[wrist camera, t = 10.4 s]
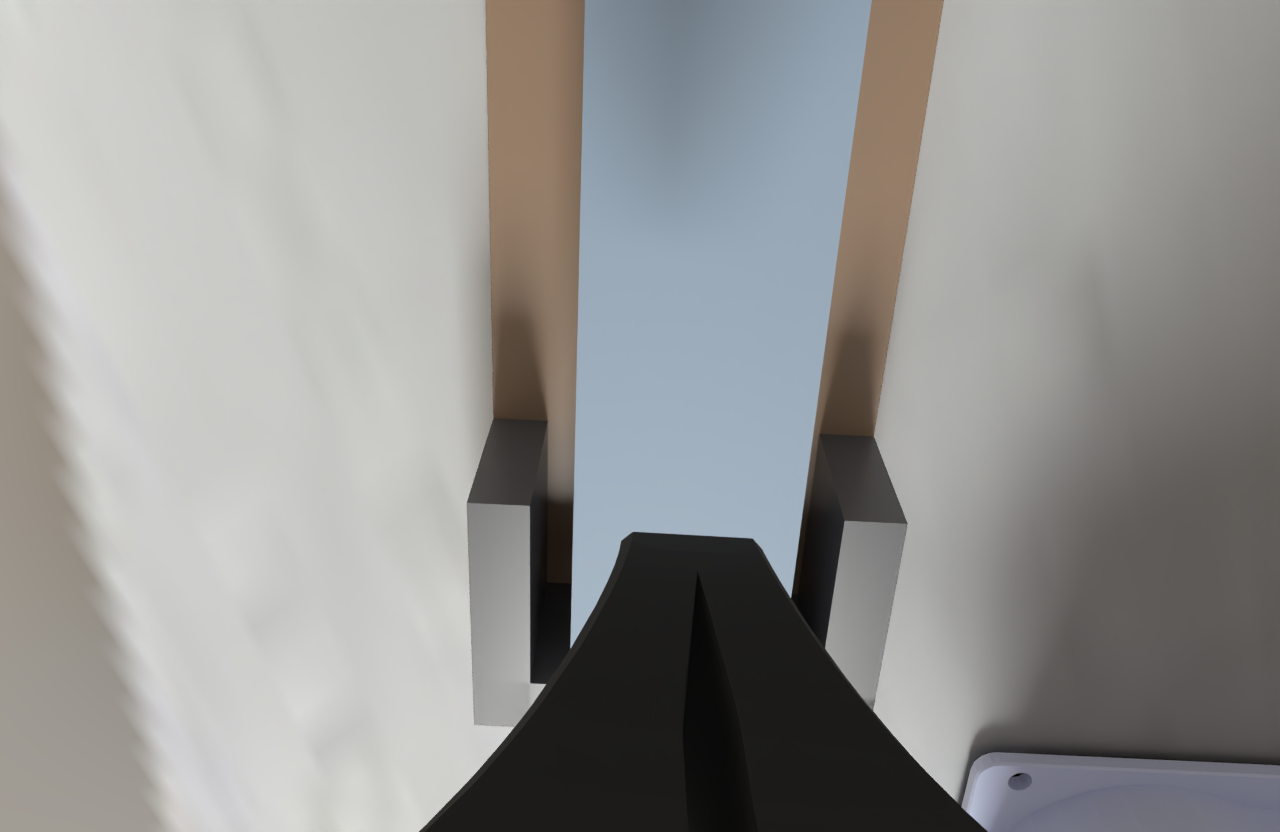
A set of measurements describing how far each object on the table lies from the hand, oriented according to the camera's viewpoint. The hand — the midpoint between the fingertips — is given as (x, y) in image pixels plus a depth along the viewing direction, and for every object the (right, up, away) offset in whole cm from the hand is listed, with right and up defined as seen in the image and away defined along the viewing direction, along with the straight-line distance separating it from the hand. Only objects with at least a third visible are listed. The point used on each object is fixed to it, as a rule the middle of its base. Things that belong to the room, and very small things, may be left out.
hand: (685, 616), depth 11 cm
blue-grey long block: (0, +5, +7) cm, 9 cm away
